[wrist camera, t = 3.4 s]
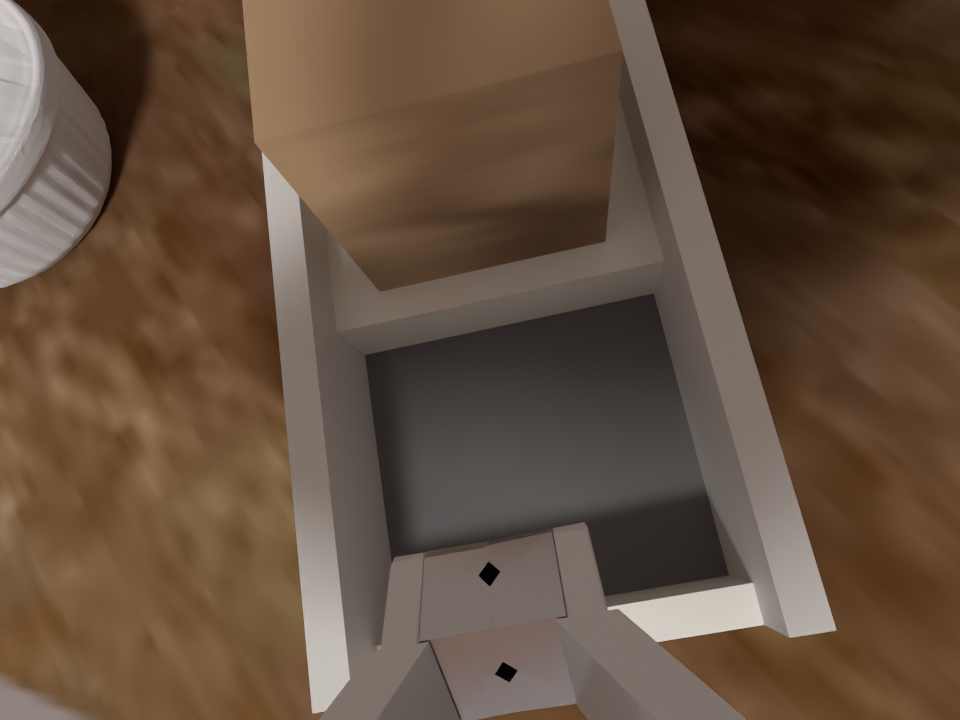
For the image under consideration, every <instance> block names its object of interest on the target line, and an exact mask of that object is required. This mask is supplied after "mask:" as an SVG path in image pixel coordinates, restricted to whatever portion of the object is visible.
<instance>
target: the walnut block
mask: <svg viewBox="0 0 960 720" xmlns="http://www.w3.org/2000/svg"><path fill="white" fill-rule="evenodd" d="M242 4H243V15H244V27H245V38H246V50H247V61H248V73H249V84H250V96H251V107H252V119H253V130H254V142H255V144H256V145H257V146H258V148H259V149H260V150H261V151H262V152H263V153H264V155H265V156H266V157H267V158H268V159H269V161H270V162H271V163H272V164H273V165H274V167H275V168H276V169H277V170H278V171H279V173H280V174H281V175H282V176H283V177H284V178H285V180H286V181H287V182H288V183H289V184H290V186H291V187H292V188H293V189H294V190H295V192H296V193H297V194H298V195H299V196H300V198H301V199H302V200H303V201H304V202H305V203H306V205H307V206H308V207H309V208H310V209H311V211H312V212H313V213H314V214H315V215H316V217H317V218H318V219H319V220H320V221H321V222H322V224H323V225H324V226H325V227H326V228H327V230H328V231H329V232H330V233H331V234H332V236H333V237H334V238H335V239H336V240H337V242H338V243H339V244H340V245H341V246H342V247H343V249H344V250H345V251H346V252H347V253H348V255H349V256H350V257H351V258H352V259H353V261H354V262H355V263H356V264H357V265H358V266H359V268H360V269H361V270H362V271H363V272H364V274H365V275H366V276H367V277H368V278H369V280H370V281H371V282H372V283H373V284H374V286H375V287H376V288H377V289H378V290H379V291H380V292H381V291H386V290H390V289H395V288H399V287H404V286H408V285H413V284H417V283H422V282H426V281H431V280H435V279H440V278H444V277H449V276H453V275H458V274H462V273H467V272H471V271H476V270H480V269H485V268H489V267H494V266H498V265H503V264H507V263H512V262H516V261H521V260H525V259H530V258H534V257H539V256H543V255H548V254H552V253H557V252H561V251H566V250H570V249H575V248H579V247H584V246H588V245H593V244H597V243H601V242H605V240H606V229H607V218H608V207H609V196H610V186H611V175H612V164H613V153H614V142H615V131H616V120H617V110H618V99H619V88H620V77H621V66H622V55H623V49H622V45H621V42H620V38H619V35H618V31H617V28H616V24H615V21H614V17H613V14H612V10H611V7H610V3H609V0H242Z"/></svg>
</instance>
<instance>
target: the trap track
mask: <svg viewBox="0 0 960 720" xmlns="http://www.w3.org/2000/svg"><path fill="white" fill-rule="evenodd" d="M609 3H610V7H611V10H612V14H613V17H614V21H615V24H616V28H617V31H618V35H619V38H620V42H621V45H622V49H623V55H622V66H621V77H620V88H619V99H618V110H617V120H616V131H615V142H614V153H613V164H612V175H611V186H610V196H609V207H608V218H607V229H606V240H605V242H601V243H597V244H593V245H588V246H584V247H579V248H575V249H570V250H566V251H561V252H557V253H552V254H548V255H543V256H539V257H534V258H530V259H525V260H521V261H516V262H512V263H507V264H503V265H498V266H494V267H489V268H485V269H480V270H476V271H471V272H467V273H462V274H458V275H453V276H449V277H444V278H440V279H435V280H431V281H426V282H422V283H417V284H413V285H408V286H404V287H399V288H395V289H390V290H386V291H381V292H380V291H379V290H378V289H377V288H376V287H375V286H374V284H373V283H372V282H371V281H370V280H369V278H368V277H367V276H366V275H365V274H364V272H363V271H362V270H361V269H360V268H359V266H358V265H357V264H356V263H355V262H354V261H353V259H352V258H351V257H350V256H349V255H348V253H347V252H346V251H345V250H344V249H343V247H342V246H341V245H340V244H339V243H338V242H337V240H336V239H335V238H334V237H333V236H332V234H331V233H330V232H329V231H328V230H327V228H326V227H325V226H324V225H323V224H322V222H321V221H320V220H319V219H318V218H317V217H316V215H315V214H314V213H313V212H312V211H311V209H310V208H309V207H308V206H307V205H306V203H305V202H304V201H303V200H302V199H301V198H300V196H299V195H298V194H297V193H296V192H295V190H294V189H293V188H292V187H291V186H290V184H289V183H288V182H287V181H286V180H285V178H284V177H283V176H282V175H281V174H280V173H279V171H278V170H277V169H276V168H275V167H274V165H273V164H272V163H271V162H270V161H269V159H268V158H267V157H266V156H265V155H264V153H263V152H262V159H263V171H264V182H265V193H266V204H267V215H268V226H269V237H270V248H271V259H272V271H273V282H274V293H275V304H276V315H277V326H278V337H279V348H280V359H281V370H282V382H283V393H284V404H285V415H286V426H287V437H288V448H289V459H290V470H291V482H292V493H293V504H294V515H295V526H296V537H297V548H298V559H299V570H300V582H301V593H302V604H303V615H304V626H305V637H306V648H307V659H308V670H309V681H310V693H311V704H312V713H318V712H324V711H326V710H327V709H328V707H329V706H330V705H331V703H332V702H333V701H334V699H335V698H336V697H337V695H338V694H339V693H340V691H341V690H342V689H343V688H344V686H345V685H346V684H347V682H348V681H349V680H350V678H351V677H352V676H353V674H354V673H355V672H356V670H357V669H358V668H359V666H360V665H361V664H362V662H363V661H364V660H365V659H366V657H367V656H368V655H369V653H370V652H373V651H378V650H380V648H381V640H382V631H383V623H384V615H385V607H386V599H387V591H388V583H389V575H390V566H391V564H392V562H393V560H394V558H395V557H398V556H405V555H411V554H417V553H424V552H427V551H432V550H438V549H444V548H450V547H457V546H463V545H469V544H475V543H482V542H488V541H491V540H496V539H501V538H506V537H511V536H516V535H521V534H527V533H532V532H537V531H542V530H547V529H552V531H553V528H557V527H562V526H567V525H572V524H577V523H582V522H584V523H585V524H586V525H587V527H588V531H589V535H590V539H591V543H592V547H593V551H594V556H595V560H596V564H597V568H598V572H599V576H600V580H601V584H602V588H603V592H604V596H605V600H606V604H607V608H608V610H614V609H619V610H620V611H621V612H622V613H624V614H625V615H626V616H627V617H628V618H629V619H631V620H632V621H633V622H634V623H635V624H636V625H638V626H639V627H640V628H641V629H642V630H643V631H644V632H646V633H647V634H648V635H649V636H650V637H651V638H653V639H654V640H655V641H656V642H660V641H667V640H673V639H679V638H685V637H691V636H698V635H704V634H710V633H716V632H722V631H729V630H735V629H741V628H747V627H754V626H760V625H766V626H768V627H770V628H772V629H773V630H775V631H777V632H779V633H781V634H783V635H785V636H787V637H789V638H792V637H798V636H804V635H811V634H817V633H823V632H830V631H836V627H835V624H834V620H833V617H832V614H831V610H830V607H829V604H828V601H827V597H826V594H825V591H824V587H823V584H822V581H821V578H820V574H819V571H818V568H817V564H816V561H815V558H814V555H813V551H812V548H811V545H810V541H809V538H808V535H807V531H806V528H805V525H804V522H803V518H802V515H801V512H800V508H799V505H798V502H797V499H796V495H795V492H794V489H793V485H792V482H791V479H790V476H789V472H788V469H787V466H786V462H785V459H784V456H783V452H782V449H781V446H780V443H779V439H778V436H777V433H776V429H775V426H774V423H773V420H772V416H771V413H770V410H769V406H768V403H767V400H766V397H765V393H764V390H763V387H762V383H761V380H760V377H759V373H758V370H757V367H756V364H755V360H754V357H753V354H752V350H751V347H750V344H749V341H748V337H747V334H746V331H745V327H744V324H743V321H742V318H741V314H740V311H739V308H738V304H737V301H736V298H735V294H734V291H733V288H732V285H731V281H730V278H729V275H728V271H727V268H726V265H725V262H724V258H723V255H722V252H721V248H720V245H719V242H718V239H717V235H716V232H715V229H714V225H713V222H712V219H711V216H710V212H709V209H708V206H707V202H706V199H705V196H704V192H703V189H702V186H701V183H700V179H699V176H698V173H697V169H696V166H695V163H694V160H693V156H692V153H691V150H690V146H689V143H688V140H687V137H686V133H685V130H684V127H683V123H682V120H681V117H680V113H679V110H678V107H677V104H676V100H675V97H674V94H673V90H672V87H671V84H670V81H669V77H668V74H667V71H666V67H665V64H664V61H663V58H662V54H661V51H660V48H659V44H658V41H657V38H656V34H655V31H654V28H653V25H652V21H651V18H650V15H649V11H648V8H647V5H646V2H645V0H609ZM553 535H554V534H553Z"/></svg>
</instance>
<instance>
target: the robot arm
mask: <svg viewBox="0 0 960 720" xmlns="http://www.w3.org/2000/svg"><path fill="white" fill-rule="evenodd" d="M553 534H554V535H553ZM570 704H577V706H578V708H579V709H580V710H581V711H582V713H583V714H584V715H585V716H586V718H587V719H588V720H746V719H745V718H744V717H743V716H742V715H741V714H739V713H738V712H737V711H736V710H735V709H734V708H732V707H731V706H730V705H729V704H728V703H727V702H726V701H724V700H723V699H722V698H721V697H720V696H719V695H717V694H716V693H715V692H714V691H713V690H712V689H710V688H709V687H708V686H707V685H706V684H705V683H704V682H702V681H701V680H700V679H699V678H698V677H697V676H695V675H694V674H693V673H692V672H691V671H690V670H688V669H687V668H686V667H685V666H684V665H683V664H682V663H680V662H679V661H678V660H677V659H676V658H675V657H673V656H672V655H671V654H670V653H669V652H668V651H666V650H665V649H664V648H663V647H662V646H661V645H660V644H658V643H657V642H656V641H655V640H654V639H653V638H651V637H650V636H649V635H648V634H647V633H646V632H644V631H643V630H642V629H641V628H640V627H639V626H638V625H636V624H635V623H634V622H633V621H632V620H631V619H629V618H628V617H627V616H626V615H625V614H624V613H622V612H621V611H620V610H619V609H614V610H608V608H607V604H606V600H605V596H604V592H603V588H602V584H601V580H600V576H599V572H598V568H597V564H596V560H595V556H594V551H593V547H592V543H591V539H590V535H589V531H588V527H587V525H586V524H585V523H584V522H582V523H577V524H572V525H567V526H562V527H557V528H553V531H552V529H547V530H542V531H537V532H532V533H527V534H521V535H516V536H511V537H506V538H501V539H496V540H491V541H488V542H482V543H475V544H469V545H463V546H457V547H450V548H444V549H438V550H432V551H427V552H424V553H417V554H411V555H405V556H398V557H395V558H394V560H393V562H392V564H391V566H390V575H389V583H388V591H387V599H386V607H385V615H384V623H383V631H382V640H381V648H380V650H378V651H373V652H370V653H369V655H368V656H367V657H366V659H365V660H364V661H363V662H362V664H361V665H360V666H359V668H358V669H357V670H356V672H355V673H354V674H353V676H352V677H351V678H350V680H349V681H348V682H347V684H346V685H345V686H344V688H343V689H342V690H341V691H340V693H339V694H338V695H337V697H336V698H335V699H334V701H333V702H332V703H331V705H330V706H329V707H328V709H327V710H326V711H325V713H324V714H323V715H322V717H321V718H320V719H319V720H476V719H482V718H487V717H492V716H497V715H502V714H508V713H513V712H518V711H525V710H533V709H540V708H548V707H555V706H563V705H570Z"/></svg>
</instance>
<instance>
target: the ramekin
mask: <svg viewBox="0 0 960 720" xmlns="http://www.w3.org/2000/svg"><path fill="white" fill-rule="evenodd" d="M111 170H112V160H111V146H110V138H109V134H108V132H107V129H106V125H105V122H104V120H103V119H102V117H101V114H100V112H99V110H98V108H97V107H96V106H95V104H94V103H93V102H92V100H91V99H90V98H89V96H88V95H87V94H86V92H85V91H84V90H83V89H82V87H81V86H80V85H79V84H78V82H77V81H76V80H75V78H74V77H73V76H72V74H71V73H70V72H69V71H68V69H67V68H66V67H65V65H64V64H63V63H62V62H61V60H60V59H59V58H58V57H57V56H56V54H55V51H54V48H53V46H52V44H51V42H50V40H49V38H48V37H47V35H46V33H45V32H44V31H43V29H42V28H41V27H40V26H39V24H38V23H37V22H36V21H35V20H34V19H33V18H32V17H31V16H30V15H29V14H28V13H27V12H26V11H25V10H24V9H23V8H22V7H20V6H19V5H18V4H17V3H16V2H14V1H13V0H0V288H3V287H7V286H10V285H12V284H14V283H18V282H21V281H23V280H26V279H28V278H31V277H33V276H35V275H37V274H39V273H41V272H43V271H45V270H46V269H48V268H50V267H51V266H53V265H54V264H56V263H57V262H58V261H60V260H61V259H62V258H64V257H65V256H66V255H67V254H68V253H69V252H70V251H71V250H72V249H73V248H74V247H75V246H76V245H77V244H78V243H79V242H80V241H81V240H82V239H83V237H84V236H85V235H86V234H87V233H88V231H89V230H90V228H91V227H92V225H93V224H94V222H95V220H96V218H97V217H98V215H99V213H100V211H101V209H102V207H103V204H104V201H105V199H106V196H107V193H108V190H109V185H110V180H111Z"/></svg>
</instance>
